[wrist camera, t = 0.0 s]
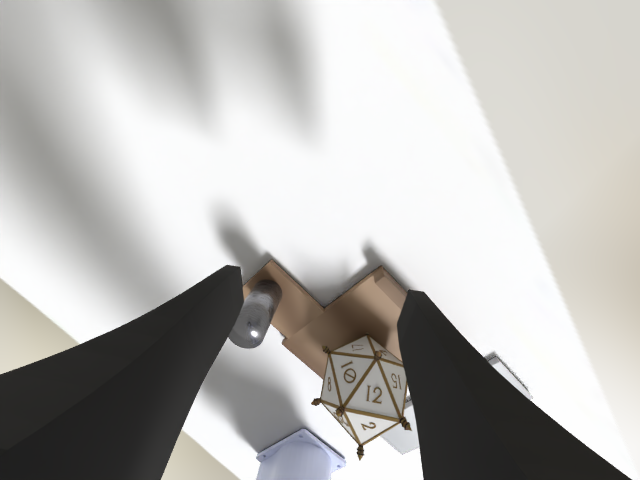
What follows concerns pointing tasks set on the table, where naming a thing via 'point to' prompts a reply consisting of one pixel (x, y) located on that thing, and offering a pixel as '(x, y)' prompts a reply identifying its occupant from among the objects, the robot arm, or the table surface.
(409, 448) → the broken grey strip
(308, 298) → the brown base with post
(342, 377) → the game die
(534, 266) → the table surface
